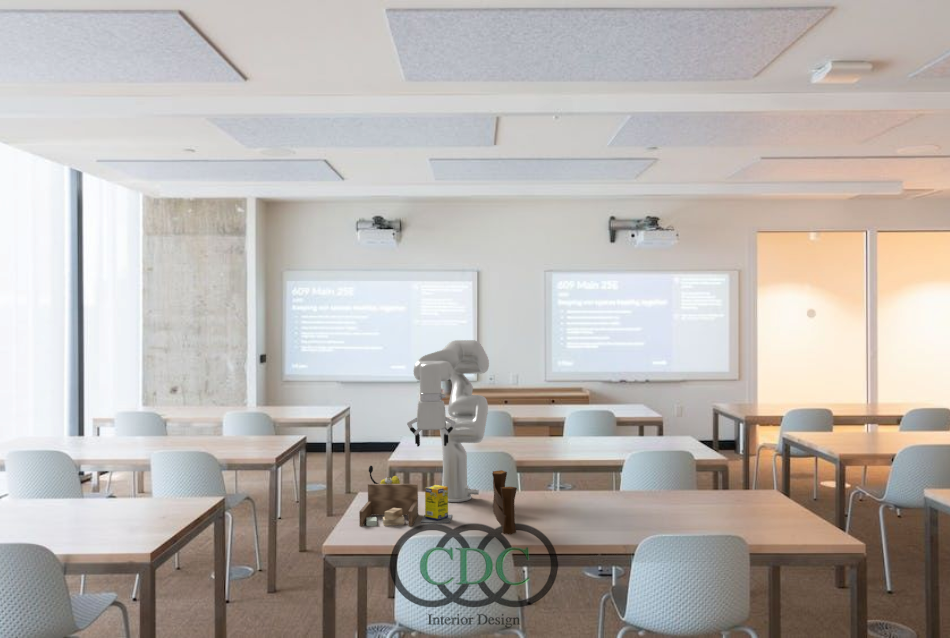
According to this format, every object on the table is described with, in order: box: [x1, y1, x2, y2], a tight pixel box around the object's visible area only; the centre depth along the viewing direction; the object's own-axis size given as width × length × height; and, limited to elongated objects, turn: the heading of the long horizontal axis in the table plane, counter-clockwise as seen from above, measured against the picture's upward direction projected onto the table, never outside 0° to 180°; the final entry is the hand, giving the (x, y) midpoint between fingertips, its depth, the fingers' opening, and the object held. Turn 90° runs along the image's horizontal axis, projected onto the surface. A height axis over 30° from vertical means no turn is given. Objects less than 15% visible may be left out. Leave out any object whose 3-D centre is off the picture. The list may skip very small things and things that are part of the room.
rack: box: [358, 483, 419, 527], centre depth 264 cm, size 18×16×11 cm
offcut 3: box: [382, 515, 405, 527], centre depth 259 cm, size 7×4×2 cm, turn 102°
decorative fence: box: [492, 470, 518, 535], centre depth 259 cm, size 34×6×15 cm, turn 5°
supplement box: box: [424, 484, 449, 521], centre depth 264 cm, size 6×6×11 cm
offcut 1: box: [365, 516, 378, 527], centre depth 259 cm, size 4×5×2 cm
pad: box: [420, 514, 453, 524], centre depth 264 cm, size 10×10×1 cm
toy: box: [368, 465, 401, 484], centre depth 290 cm, size 6×14×15 cm
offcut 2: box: [383, 508, 403, 520], centre depth 260 cm, size 6×4×2 cm, turn 154°
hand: (431, 445), depth 268 cm, fingers open, 9 cm apart
